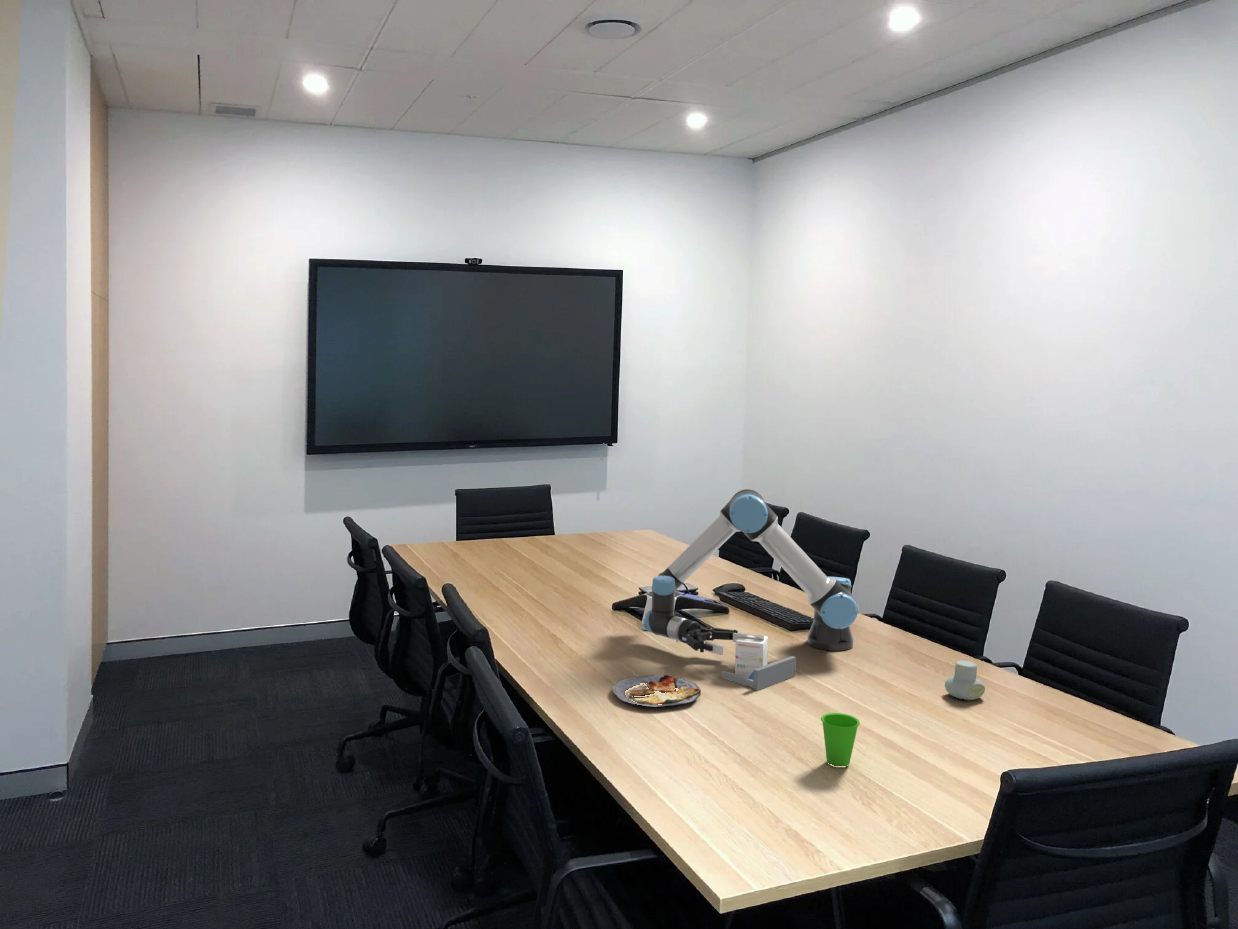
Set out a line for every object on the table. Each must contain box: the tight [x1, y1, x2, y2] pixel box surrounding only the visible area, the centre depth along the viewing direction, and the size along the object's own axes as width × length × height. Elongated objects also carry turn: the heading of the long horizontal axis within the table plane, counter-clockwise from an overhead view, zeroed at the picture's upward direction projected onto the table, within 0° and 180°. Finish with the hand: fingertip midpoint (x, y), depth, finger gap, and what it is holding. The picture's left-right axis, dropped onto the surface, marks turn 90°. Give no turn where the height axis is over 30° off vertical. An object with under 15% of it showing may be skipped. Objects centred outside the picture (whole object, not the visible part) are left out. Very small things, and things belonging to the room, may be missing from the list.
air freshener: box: [944, 660, 986, 701], centre depth 275 cm, size 11×8×10 cm
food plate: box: [612, 674, 702, 708], centre depth 271 cm, size 25×23×4 cm
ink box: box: [734, 632, 769, 680], centre depth 289 cm, size 9×8×13 cm
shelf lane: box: [721, 655, 797, 692], centre depth 288 cm, size 14×19×6 cm
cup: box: [820, 712, 861, 766], centre depth 228 cm, size 9×9×11 cm
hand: (736, 646), depth 293 cm, fingers open, 13 cm apart
